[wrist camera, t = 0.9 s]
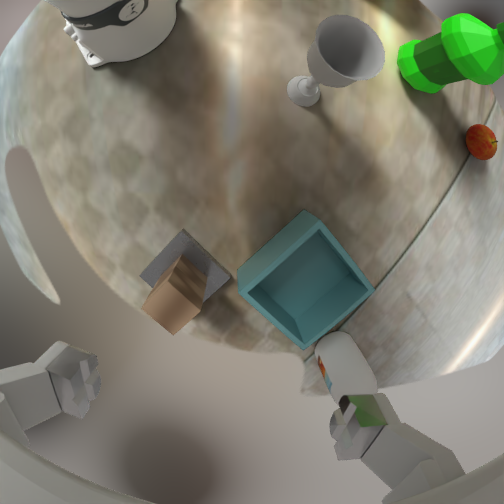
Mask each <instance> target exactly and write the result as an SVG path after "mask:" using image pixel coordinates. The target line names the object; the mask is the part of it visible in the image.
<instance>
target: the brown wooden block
mask: <svg viewBox="0 0 504 504" xmlns="http://www.w3.org/2000/svg"><path fill="white" fill-rule="evenodd" d="M207 279H208V277H207V276H205V275H204V274H203V273H202V272H201V271H200V270H199V269H198V268H197V267H196V266H195V265H194V264H193V263H192V262H190V261H189V260H188V259H187V258H186V257H185V256H184V255H183V254H182V255H181V256H180V257H179V258H178V259H177V260H176V261H175V262H174V263H173V264H172V265H171V266H170V267H169V268H168V269H167V270H166V271H165V272H164V273H163V274H162V275H161V276H160V278H159V279H158V281H157V282H156V284H155V286H154V287H153V289H152V291H151V293H150V294H149V296H148V298H147V299H146V301H145V303H144V304H143V306H142V308H141V309H143V310H144V311H145V312H146V313H147V314H148V315H150V316H151V317H152V318H153V319H154V320H155V321H157V322H158V323H159V324H160V325H161V326H163V327H164V328H165V329H166V330H167V331H169V332H170V333H171V334H172V335H174V334H175V333H177V332H178V331H179V330H180V329H181V328H182V327H183V326H185V325H186V324H187V323H188V322H189V321H190V320H191V319H192V318H194V317H195V316H196V315H197V314H198V313H199V312H200V311H201V308H202V303H203V298H204V293H205V288H206V284H207Z"/></svg>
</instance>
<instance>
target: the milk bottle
mask: <svg viewBox="0 0 504 504" xmlns="http://www.w3.org/2000/svg"><path fill="white" fill-rule="evenodd" d="M315 357H316V360H317V362H318V365H319V367H320V370H321V372H322V374H323V377H324V379H325V382H326V384H327V387H328V389H329V391H330V393H331V395H332V397H333V399H334V401H335V402H336V403H337V404H338V403H339V401H340V399H341V397H342V396H343V395H359V394H377V391H378V387H377V381H376V378H375V375H374V373H373V371H372V369H371V368H370V366H369V364H368V363H367V361H366V359H365V358H364V356H363V354H362V353H361V351H360V350H359V348H358V346H357V345H356V343H355V342H354V340H353V339H352V337H351V336H350V335H349V334H347V333H345V332H341V331H336V332H332V333H329V334H327V335H325V336H324V337H322V338H321V339H320V340H319V342H318V343H317V345H316V348H315ZM338 405H339V404H338Z"/></svg>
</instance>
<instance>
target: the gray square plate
mask: <svg viewBox="0 0 504 504" xmlns="http://www.w3.org/2000/svg"><path fill="white" fill-rule="evenodd" d="M182 254H183V255H184V256H185V257H186V258H187V259H188V260H189V261H190V262H192V263H193V264H194V265H195V266H196V267H197V268H198V269H199V270H200V271H201V272H202V273H203V274H204V275H205V276H207V277H208V279H207V284H206V288H205V293H204V298H203V302H204V301H206V300H207V299H208V298H209V297H210V296H211V295H212V294H213V293H214V292H216V291H217V290H218V289H219V288H220V287H221V286H222V285H223V284H224V283H226V282H227V281H228V280H229V279H230V278H231V274H230V273H229V272H228V271H227V270H226V269H225V268H224V267H223V266H221V265H220V264H219V263H218V262H217V261H216V260H215V259H214V258H213V257H212V256H211V255H210V254H209V253H208V252H207V251H206V250H205V249H204V248H203V247H202V246H201V245H200V244H199V243H198V242H196V241H195V240H194V239H193V238H192V237H191V236H190V235H189V234H188V233H187V232H186V231H185V230H184V229H182V230H181V231H180V232H179V233H178V235H177V236H176V237H175V238H174V239H173V240H172V241H171V242H170V243H169V244H168V245H167V246H166V247H165V248H164V249H163V250H162V251H161V252H160V254H159V255H158V256H157V257H156V258H155V259H154V260H153V261H152V262H151V263H150V264H149V265H148V267H147V268H146V269H145V270H144V271H143V272H142V273H141V275H140V277H141V278H142V279H143V280H144V281H146V282H147V283H148V284H149V285H150V286H151V287H152V288H153V287H154V286H155V284H156V282H157V281H158V279H159V278H160V276H161V275H162V274H163V273H164V272H165V271H166V270H167V269H168V268H169V267H170V266H171V265H172V264H173V263H174V262H175V261H176V260H177V259H178V258H179V257H180V256H181V255H182Z"/></svg>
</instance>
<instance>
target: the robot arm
mask: <svg viewBox="0 0 504 504" xmlns="http://www.w3.org/2000/svg"><path fill="white" fill-rule="evenodd" d="M44 1H46V2H48V3H50V4H51V5H53V6H55V7H56V8H58V9H59V10H60V11H61V13H62V15H63V17H64V18H65V19H66V20H67V21H66V25H67V26H65V27H64V31H65V32H66V33H67V34H68V35H69V36H71V37H72V39H73V40H74V41H75V42H76V43H77V45H78V47H79V49H80V51H81V52H82V54H83V56H84V58H85V59H86V61H87V63H88V64H89V65H90V66H91V67H98V66H100V65H103V64H105V63H107V62H123V61H128V60H132V59H135V58H138V57H140V56H143V55H145V54H146V53H148V52H150V51H151V50H153V49H154V48H156V47H157V46H158V45H159V44H160V43H162V42H163V41H164V40H165V38H166V37H167V36H168V35H169V33H170V32H171V30H172V28H173V26H174V24H175V21H176V3H177V1H178V0H44ZM92 55H94V56H93V57H92ZM91 57H92V58H91ZM97 365H98V360H97V356H96V355H95V354H93V353H90V352H87V351H85V350H82V349H80V348H77V347H75V346H72V345H69V344H67V343H64V342H62V341H57V342H56V343H55V344H54V345H52V346H51V347H50V348H49V349H48V350H47V351H46V352H45V353H44V354H43V355H42V356H41V357H40V358H39V359H38V360H37V361H36V362H35V363H34V364H33V363H31V362H30V363H25V364H22V365H18V366H13V367H9V368H5V369H1V370H0V504H155V503H151V502H148V501H144V500H141V499H137V498H134V497H131V496H128V495H125V494H122V493H119V492H116V491H114V490H111V489H108V488H106V487H103V486H101V485H98V484H96V483H93V482H91V481H89V480H86V479H84V478H82V477H80V476H78V475H75V474H74V473H71V472H69V471H67V470H65V469H63V468H61V467H60V466H58V465H55V464H54V463H52V462H50V461H49V460H47V459H45V458H43V457H42V456H40V455H38V454H37V453H35V452H33V451H32V450H30V449H29V446H30V442H29V440H28V438H27V437H26V435H25V433H24V430H27V429H29V428H31V427H33V426H35V425H37V424H39V423H41V422H43V421H45V420H47V419H49V418H51V417H52V416H55V415H57V414H59V413H61V412H62V411H63V412H66V413H68V414H71V415H73V416H75V417H78V418H80V419H83V417H84V416H85V414H86V412H87V411H88V409H89V408H90V404H89V401H90V400H93V399H95V398H96V397H97V395H98V393H99V390H100V386H101V377H100V373H99V372H98V371H97V369H96V367H97ZM338 404H339V407H340V408H339V409H338V410H336V411H334V413H333V415H332V417H331V420H330V433H331V436H332V438H334V439H335V440H336V441H337V442H336V444H335V445H334V448H335V451H336V454H337V458H338V460H351V459H361V461H362V462H363V463H364V464H365V465H366V466H367V467H369V469H371V470H372V471H373V472H374V473H375V474H376V475H377V476H378V477H379V478H380V479H381V480H382V481H383V482H385V483H386V484H387V485H388V486H389V487H390V488H391V489H392V491H391V492H390V493H389V494H388V495H386V496H385V497H384V499H383V500H382V502H383V504H504V453H503V454H502V455H500V456H498V457H497V458H495V459H494V460H492V461H490V462H488V463H487V464H485V465H483V466H481V467H479V468H477V469H475V470H473V471H472V472H470V473H467V474H465V472H464V470H463V469H462V467H461V465H460V463H459V462H458V460H457V458H456V457H455V455H454V453H453V452H452V450H450V449H448V448H446V447H444V446H443V445H441V444H439V443H438V442H435V441H434V440H432V439H431V438H429V437H427V436H426V435H424V434H422V433H420V432H419V431H417V430H415V429H414V428H412V427H411V426H409V425H408V424H406V423H401V422H400V420H399V418H398V416H397V415H396V413H395V411H394V409H393V407H392V405H391V404H390V402H389V400H388V399H387V397H386V395H385V394H383V393H377V394H359V395H343V396H342V397H341V399H340V401H339V403H338Z"/></svg>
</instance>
